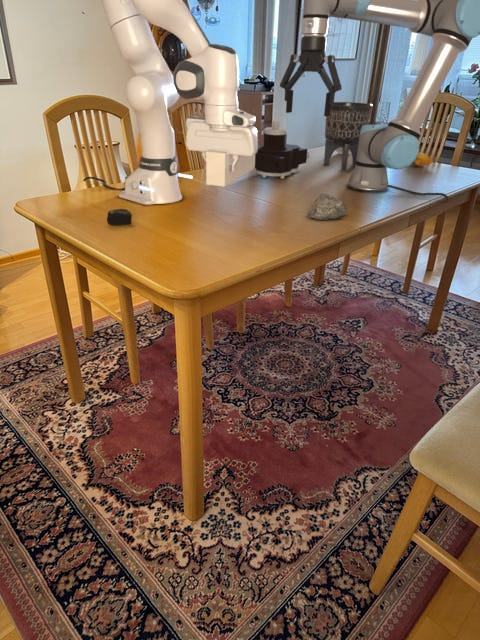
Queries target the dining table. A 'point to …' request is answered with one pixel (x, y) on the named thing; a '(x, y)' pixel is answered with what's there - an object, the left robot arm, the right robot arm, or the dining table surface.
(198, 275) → the dining table surface
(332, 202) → the rock
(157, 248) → the dining table surface
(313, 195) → the dining table surface
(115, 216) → the tape measure
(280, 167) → the mechanical component
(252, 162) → the bar
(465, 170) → the dining table surface
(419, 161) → the toy
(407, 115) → the right robot arm
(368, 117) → the planter
